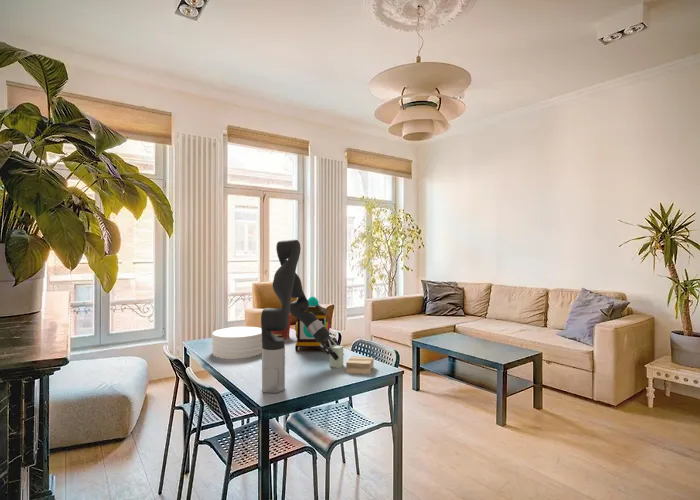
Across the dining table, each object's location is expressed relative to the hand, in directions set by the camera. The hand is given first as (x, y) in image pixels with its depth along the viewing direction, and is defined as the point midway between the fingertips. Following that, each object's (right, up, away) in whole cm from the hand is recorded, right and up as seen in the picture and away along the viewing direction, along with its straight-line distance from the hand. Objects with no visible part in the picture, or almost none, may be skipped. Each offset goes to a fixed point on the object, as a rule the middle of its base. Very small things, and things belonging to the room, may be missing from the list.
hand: (339, 357), depth 194 cm
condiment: (-34, -5, +16) cm, 38 cm away
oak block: (+10, -5, -5) cm, 12 cm away
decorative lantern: (-17, -4, +35) cm, 39 cm away
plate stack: (-57, -5, +27) cm, 64 cm away
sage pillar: (-2, -4, +1) cm, 5 cm away
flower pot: (-41, -4, +62) cm, 75 cm away
